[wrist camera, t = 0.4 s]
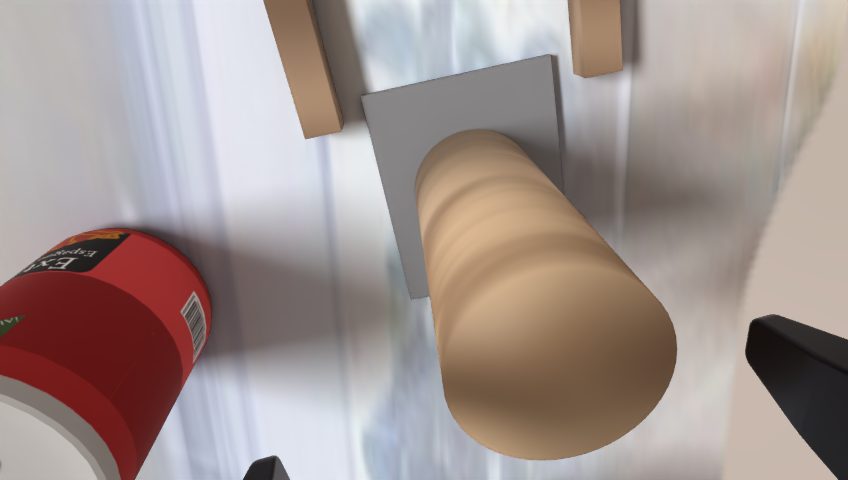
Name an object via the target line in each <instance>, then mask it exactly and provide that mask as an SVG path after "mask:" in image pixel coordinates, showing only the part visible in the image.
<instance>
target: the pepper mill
mask: <svg viewBox="0 0 848 480" xmlns="http://www.w3.org/2000/svg"><path fill="white" fill-rule="evenodd" d="M415 198H416V204H417V211H418V218H419V225H420V232H421V239H422V245H423V252H424V259H425V266H426V273H427V280H428V286H429V293H430V300H431V307H432V314H433V320H434V327H435V334H436V341H437V348H438V355H439V361H440V368H441V375H442V382H443V388H444V395H445V399H446V402H447V405H448V408H449V410H450V412H451V414H452V416H453V418H454V419H455V420H456V422H457V423H458V425H459V426H460V427H461V428H462V429H463V430H464V431H465V432H466V433H467V434H468V435H469V436H470V437H471V438H473V439H474V440H475V441H477V442H478V443H479V444H481V445H483V446H485V447H487V448H488V449H490V450H493V451H495V452H498V453H500V454H503V455H507V456H510V457H514V458H520V459H527V460H557V459H564V458H570V457H574V456H578V455H582V454H586V453H588V452H591V451H594V450H597V449H599V448H601V447H604V446H606V445H608V444H610V443H612V442H614V441H615V440H617V439H619V438H621V437H622V436H624V435H625V434H627V433H628V432H629V431H631V430H632V429H634V428H635V427H636V426H637V425H638V424H639V423H641V422H642V421H643V420H644V419H645V418H646V417H647V416H648V415H649V414H650V412H651V411H652V410H653V409H654V408H655V407H656V405H657V404H658V402H659V401H660V400H661V398H662V397H663V395H664V393H665V391H666V390H667V388H668V386H669V383H670V381H671V378H672V376H673V373H674V368H675V364H676V356H677V342H676V334H675V331H674V327H673V324H672V321H671V319H670V317H669V315H668V313H667V311H666V310H665V308H664V307H663V305H662V304H661V302H660V301H659V300H658V299H657V298H656V297H655V296H654V295H653V294H652V292H651V291H650V290H649V289H648V288H647V287H646V286H645V285H644V284H643V283H642V281H641V280H640V279H639V278H638V277H637V276H636V275H635V274H634V273H633V271H632V270H631V269H630V268H629V267H628V266H627V265H626V264H625V263H624V262H623V260H622V259H621V258H620V257H619V256H618V255H617V254H616V253H615V252H614V250H613V249H612V248H611V247H610V246H609V245H608V244H607V243H606V242H605V241H604V239H603V238H602V237H601V236H600V235H599V234H598V233H597V232H596V231H595V229H594V228H593V227H592V226H591V225H590V224H589V223H588V222H587V221H586V219H585V218H584V217H583V216H582V215H581V214H580V213H579V212H578V211H577V210H576V208H575V207H574V206H573V205H572V204H571V203H570V202H569V201H568V200H567V198H566V197H565V196H564V195H563V194H562V193H561V192H560V191H559V190H558V189H557V187H556V186H555V185H554V184H553V183H552V182H551V181H550V180H549V179H548V177H547V176H546V175H545V174H544V173H543V172H542V171H541V170H540V169H539V168H538V166H537V165H536V164H535V163H534V162H533V161H532V160H531V159H530V158H529V156H528V155H527V154H526V153H525V152H524V151H523V150H522V149H521V148H520V147H519V146H518V145H517V143H515V142H514V141H513V140H511V139H510V138H508V137H507V136H505V135H503V134H500V133H498V132H495V131H491V130H485V129H471V130H464V131H461V132H457V133H455V134H452V135H450V136H448V137H446V138H445V139H443V140H441V141H440V142H439V143H438V144H436V145H435V146H434V147H433V148H432V149H431V150H430V151H429V152H428V154H427V155H426V156H425V158H424V160H423V161H422V163H421V165H420V167H419V170H418V172H417V176H416V181H415Z"/></svg>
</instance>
